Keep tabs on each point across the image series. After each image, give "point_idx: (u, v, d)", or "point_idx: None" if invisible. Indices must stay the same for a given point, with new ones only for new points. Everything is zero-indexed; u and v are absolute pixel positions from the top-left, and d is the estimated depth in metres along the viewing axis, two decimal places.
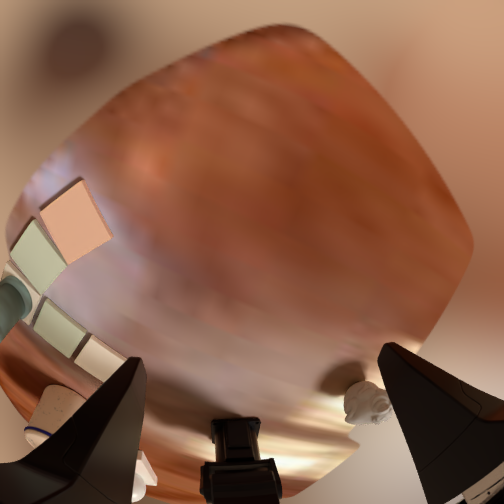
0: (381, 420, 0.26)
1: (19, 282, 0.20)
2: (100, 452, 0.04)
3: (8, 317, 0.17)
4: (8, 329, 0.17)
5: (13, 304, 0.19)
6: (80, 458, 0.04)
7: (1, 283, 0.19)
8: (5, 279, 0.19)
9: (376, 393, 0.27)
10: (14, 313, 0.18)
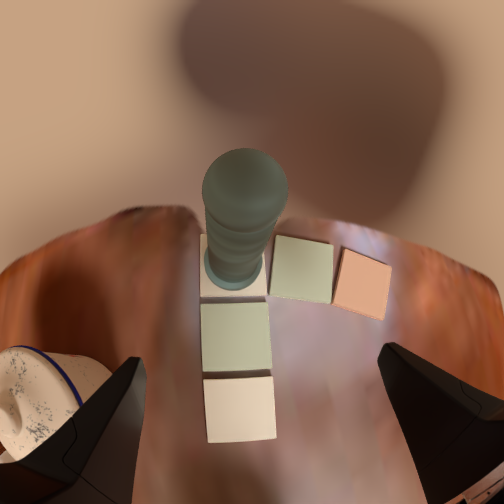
0: None
1: None
2: (100, 452, 0.04)
3: (257, 262, 0.19)
4: (243, 268, 0.19)
5: (258, 263, 0.21)
6: (80, 458, 0.04)
7: None
8: None
9: None
10: (252, 269, 0.20)
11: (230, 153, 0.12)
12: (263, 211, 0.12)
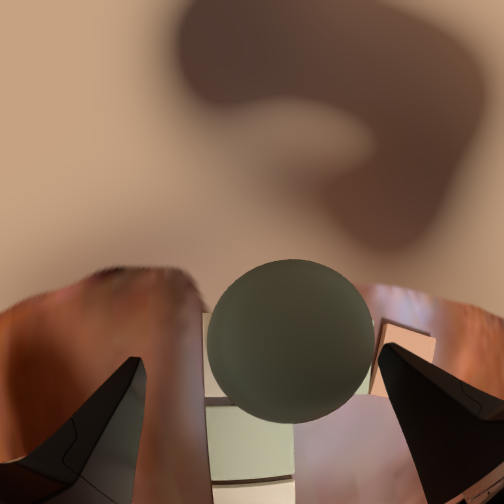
0: None
1: None
2: (100, 452, 0.04)
3: None
4: None
5: None
6: (80, 458, 0.04)
7: None
8: None
9: None
10: None
11: (270, 291, 0.05)
12: (333, 410, 0.05)
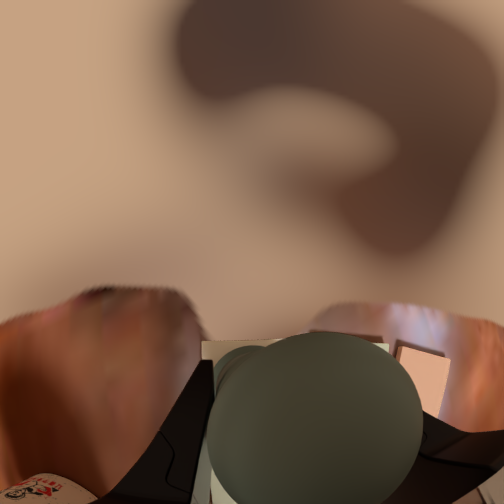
0: None
1: None
2: (201, 464, 0.05)
3: None
4: None
5: None
6: (187, 475, 0.04)
7: None
8: None
9: None
10: None
11: (300, 409, 0.03)
12: None
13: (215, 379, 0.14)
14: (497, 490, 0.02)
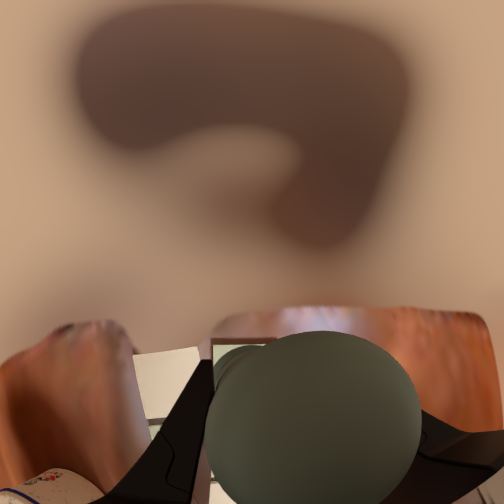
0: None
1: None
2: (201, 464, 0.05)
3: None
4: None
5: None
6: (187, 475, 0.04)
7: None
8: None
9: None
10: None
11: (297, 407, 0.03)
12: None
13: (214, 379, 0.14)
14: (497, 490, 0.02)
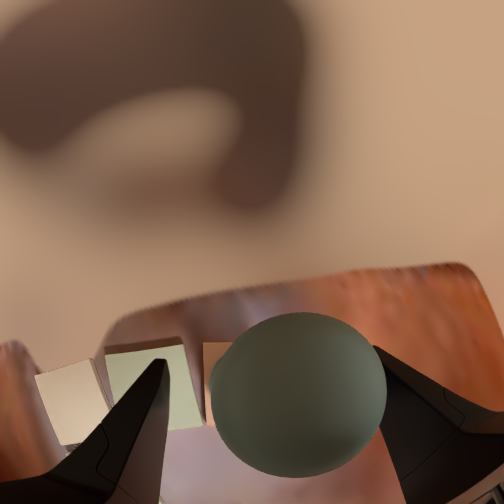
0: None
1: None
2: (134, 458, 0.04)
3: None
4: None
5: None
6: (115, 466, 0.04)
7: None
8: None
9: None
10: None
11: (280, 357, 0.05)
12: (342, 464, 0.04)
13: None
14: None
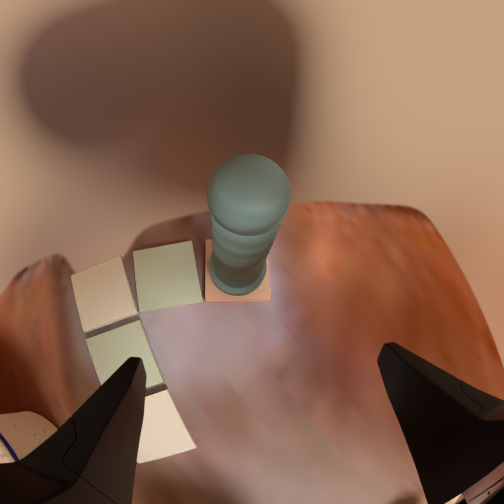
0: None
1: None
2: (100, 452, 0.04)
3: (261, 266, 0.20)
4: (247, 272, 0.19)
5: (262, 268, 0.21)
6: (80, 458, 0.04)
7: None
8: None
9: None
10: (257, 274, 0.21)
11: (234, 158, 0.13)
12: (267, 214, 0.12)
13: (213, 258, 0.23)
14: None
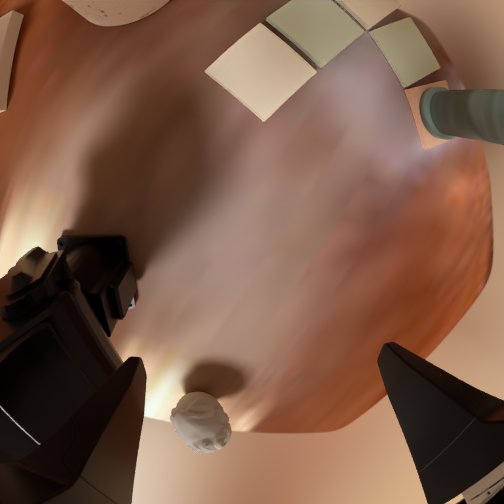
0: (205, 449, 0.22)
1: None
2: (100, 452, 0.04)
3: (466, 136, 0.15)
4: (462, 125, 0.14)
5: (457, 136, 0.16)
6: (80, 458, 0.04)
7: None
8: None
9: (227, 425, 0.24)
10: (455, 132, 0.15)
11: None
12: None
13: (441, 90, 0.16)
14: None
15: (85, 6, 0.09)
